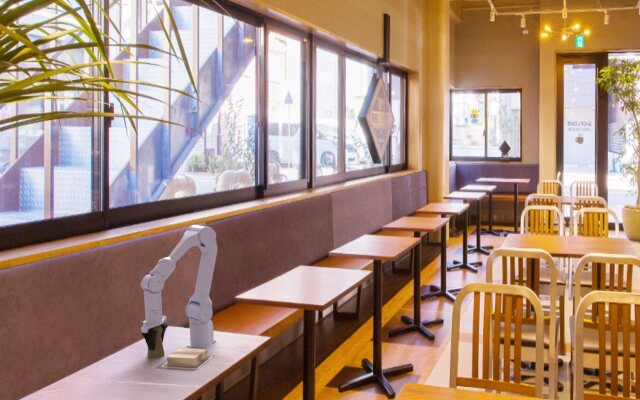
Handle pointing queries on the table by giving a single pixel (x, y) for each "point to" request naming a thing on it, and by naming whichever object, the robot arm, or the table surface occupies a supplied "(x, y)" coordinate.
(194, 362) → the birch block
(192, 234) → the robot arm
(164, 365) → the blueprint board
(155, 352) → the cork
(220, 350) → the table surface
